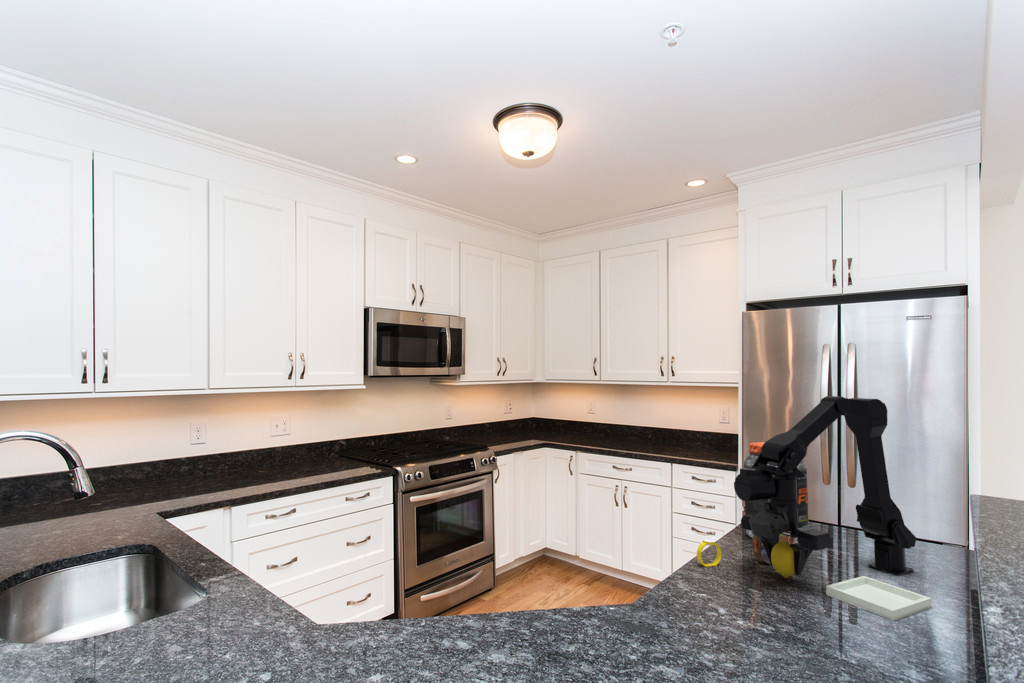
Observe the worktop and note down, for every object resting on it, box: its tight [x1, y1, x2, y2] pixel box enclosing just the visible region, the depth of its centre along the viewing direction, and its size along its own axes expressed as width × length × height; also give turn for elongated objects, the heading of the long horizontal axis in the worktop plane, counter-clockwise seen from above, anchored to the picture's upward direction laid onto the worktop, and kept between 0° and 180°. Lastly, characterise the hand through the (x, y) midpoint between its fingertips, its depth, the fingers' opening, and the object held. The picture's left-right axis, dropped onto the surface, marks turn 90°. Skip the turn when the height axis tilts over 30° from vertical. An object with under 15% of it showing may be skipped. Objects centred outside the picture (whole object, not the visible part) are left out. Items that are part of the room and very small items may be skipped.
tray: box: [825, 575, 933, 622], centre depth 103 cm, size 13×13×2 cm
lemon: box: [771, 541, 796, 579], centre depth 114 cm, size 6×6×8 cm
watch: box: [696, 538, 723, 568], centre depth 123 cm, size 6×3×6 cm, turn 105°
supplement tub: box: [743, 441, 810, 539], centre depth 144 cm, size 16×16×26 cm
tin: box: [751, 531, 796, 565], centre depth 127 cm, size 15×3×8 cm, turn 117°
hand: (785, 570), depth 114 cm, fingers closed on lemon, 5 cm apart
